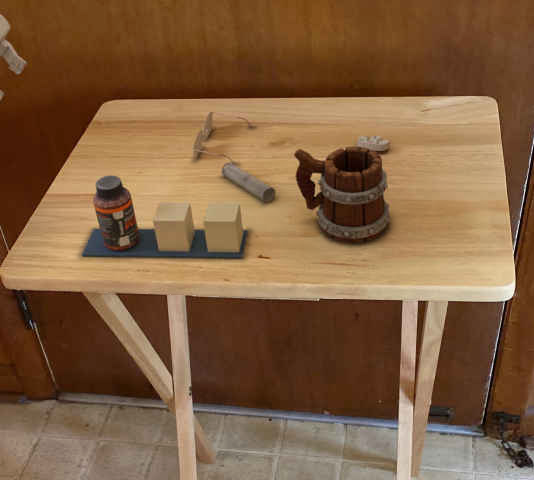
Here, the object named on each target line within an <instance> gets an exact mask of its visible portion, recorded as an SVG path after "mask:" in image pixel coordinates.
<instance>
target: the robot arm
mask: <svg viewBox="0 0 534 480" xmlns="http://www.w3.org/2000/svg"><path fill="white" fill-rule="evenodd" d="M11 28H12V27H11V25H10V24H9V21H8V20H7V18H5V16H3V15H2V14H1V13H0V58H1V57H2V58H3V59H4V60H5V61H6V62H7V64H8V65H9V66H8V69H9V70H11V71H12V72H14V73H15V74H16V75H20V74H22V72H23V71H24V69H25V67H27V65H28V64H27V61H26V60H25V59H23V57H21V56H19V55H18V53H17V51H16V50H15V48H14V47H13V45H12V44H11V43H10V42H9V41H8V40H7V39H6V37H7V35H8V34H9V32H10V30H11ZM4 96H5V93H4V91H3V90H1V89H0V101H2V99H3V97H4Z"/></svg>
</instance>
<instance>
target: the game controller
mask: <svg viewBox="0 0 534 480" xmlns="http://www.w3.org/2000/svg"><path fill="white" fill-rule="evenodd" d="M356 145H357V146H356V147H364V148H368V149H370V151H372V150H373V151H375V152H383V151H386V150H388V149H389V147H390V140H389V139H381V135H379V134H373V136H371V137H370V136H364V135H359V137H358V138H357V144H356Z"/></svg>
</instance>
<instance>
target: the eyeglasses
mask: <svg viewBox="0 0 534 480" xmlns="http://www.w3.org/2000/svg"><path fill="white" fill-rule="evenodd" d="M213 114H217V115H222V116H226V117H232V118H237V119H241V120H244V121H245V123H247V124H248V126H249V128H250V129H253V126H251V124H250V123H249V121H248V120H247V119H246V118H243V117H240V116H234V115H230V114H225V113H221V112H218V111H217V112H216V111H212V110H210V111H209V112H208V113H207V116H206V118H205V120H204V124H203V125H204V126H203V129H200V130H199V131H198V132H197V135H196V137H195V138H194V141H193V145H192V148H191V150H192V151H193V155H194V158H195V159H197V158H198V156H199V154H200V153H204V154H210V155H214V156H219V157H224V158H227V159H229V161H231V163H232V164H234V165H236V163H235V162H234V161H233V160H232V159H231V158H230V157H229V156H227V155H223V154H218V153H213V152H208V151H204V150H201V149H202V148H203V147H202V146H203V142H206V140H207V138H208V136H209V135H210V134H211V131H212V129H213V120H214V119H213Z"/></svg>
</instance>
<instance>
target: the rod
mask: <svg viewBox="0 0 534 480" xmlns="http://www.w3.org/2000/svg"><path fill="white" fill-rule="evenodd" d="M221 175H223V176H224V177H225V178H227V179H229V180H230V181H232V182H233V183H235V184H236V185H238V186H240V187H242V188H243V189H245V190H246V191H248V193H251V194H253V195H254V196H255V197H257V198H259V199H261V200H262V202H263V201H264V202H265V203H269V202H271V201H272V200H273V199H274V198H275V196H276V190H275V188H274V187H273V186H271V185H269V184H267V183H266V182H264V181H262V179H261V180H260V179H259V178H257V177H256V176H255V175H253V174H251V173H249V172H248V171H246V170H245V169H242V168H241V167H239V166H237V164H235V165H234V164H233V163H232V162H227V163H225V164H224V165H223V166H222V168H221Z"/></svg>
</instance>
